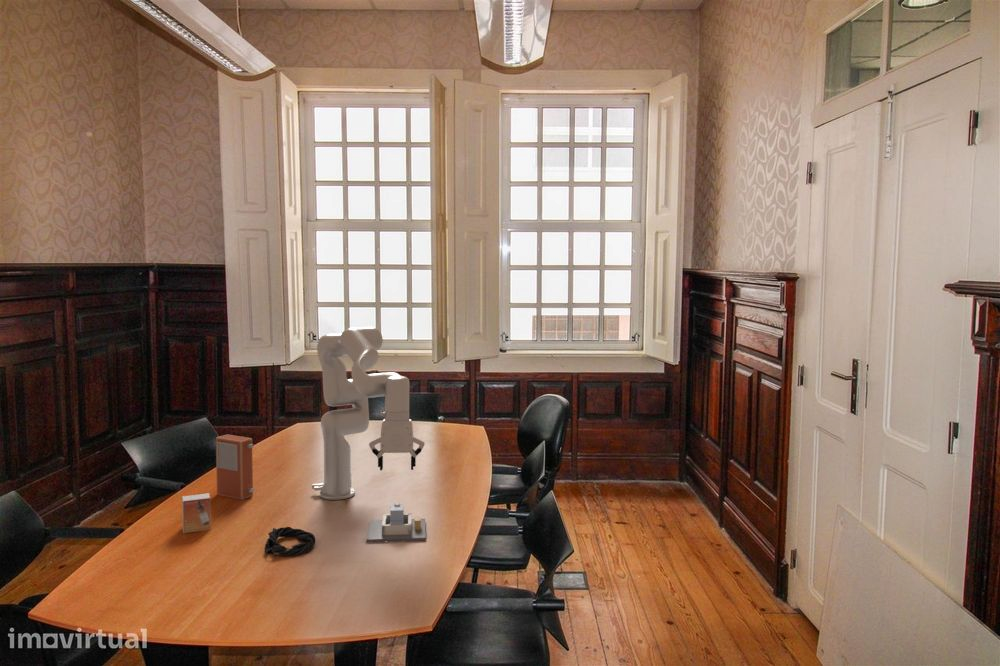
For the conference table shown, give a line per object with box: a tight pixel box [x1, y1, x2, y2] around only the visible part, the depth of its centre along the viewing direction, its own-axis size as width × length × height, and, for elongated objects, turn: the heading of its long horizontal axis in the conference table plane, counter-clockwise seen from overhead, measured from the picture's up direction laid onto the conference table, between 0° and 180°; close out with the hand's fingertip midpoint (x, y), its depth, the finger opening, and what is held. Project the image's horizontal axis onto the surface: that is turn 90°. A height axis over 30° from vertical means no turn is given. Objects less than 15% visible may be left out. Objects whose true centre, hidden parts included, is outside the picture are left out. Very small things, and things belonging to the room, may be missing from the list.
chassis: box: [365, 512, 427, 543], centre depth 209 cm, size 18×16×4 cm
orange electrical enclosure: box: [215, 434, 255, 500], centre depth 240 cm, size 21×7×15 cm
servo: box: [389, 502, 405, 526], centre depth 209 cm, size 4×10×7 cm, turn 8°
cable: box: [264, 526, 316, 558], centre depth 197 cm, size 17×14×4 cm
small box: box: [181, 492, 212, 534], centre depth 208 cm, size 8×6×10 cm
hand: (396, 468), depth 208 cm, fingers open, 9 cm apart
